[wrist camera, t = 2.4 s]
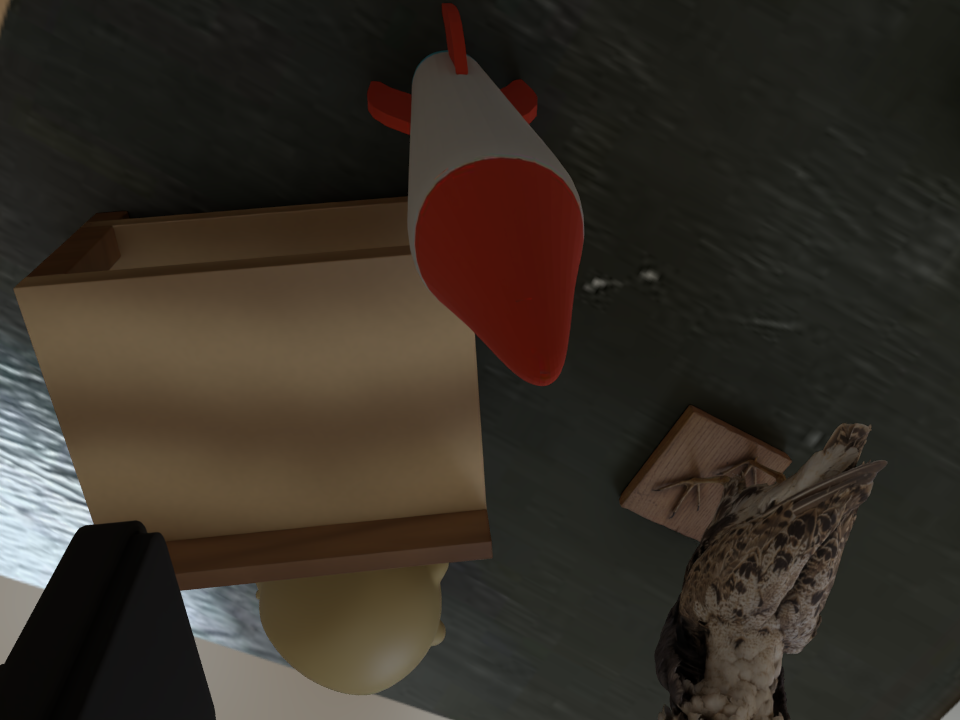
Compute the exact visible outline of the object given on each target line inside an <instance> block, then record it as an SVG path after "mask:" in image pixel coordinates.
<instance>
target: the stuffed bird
mask: <svg viewBox="0 0 960 720" xmlns="http://www.w3.org/2000/svg"><path fill="white" fill-rule="evenodd" d="M869 431H871V425H869V427H868V426H866V425H863V424H858V423H855V424H846V423H842V424H841V425H840V426H839V427H838V428H837V429H836V430H835V431H834V433H833V434H832V436H831V438H830V439H829V440H828V442H827V444H826V445H825V448H824V449H823V450H822V451H819V452H815V453H814V454H813V455H812V456H811V458H810V459H809V460H808V461H807V462H806V463H805V464H804V465H803V466H802V467H801V468H800V469H799V471H798V472H797V473H795V474H794V475H793V476H791V477H789V478H788V479H786V477H785V475H784V474H782V473H783V472H784V471H785V469H786V468H787V467H788V466H789V465H790V463H791V462H792V460H791V459H790V458H789V456H788V455H787V454H786V453H785V452H782V451H780V450H779V449H777V448H775V447H772V446H770V445H769V444H767V443H765V442H763V441H761V440H759V439H757V438H755V437H753V436H751V435H749V434H747V433H745V432H743V431H741V430H739V429H738V428H736V427H733V426H731V425H729V424H727V423H726V422H724V421H722V420H720V419H718V418H716V417H713V416H712V415H710V414H708V413H706V412H704V411H702V410H700V409H698V408H696V407H694V406H692V405H689V406H688V408H687V409H686V410H685V412H684V413H683V414H682V416H681V417H680V418H679V420H678V421H677V422H676V423H675V425H674V426H673V427H672V429H671V430H670V431H669V433H668V434H667V435H666V436H665V438H664V439H663V440H662V442H661V443H660V444H659V446H658V447H657V448H656V450H655V451H654V452H653V453H652V455H651V456H650V458H649V459H648V460H647V462H646V463H645V464H644V465H643V466H642V468H641V469H640V471H639V472H638V473H637V474H636V476H635V477H634V478H633V480H632V481H631V482H630V484H629V485H628V486H627V488H626V489H625V490H624V492H623V493H622V494H621V497H620V499H619V501H620V505H621V507H623V508H627V509H629V510H631V511H633V512H635V513H637V514H639V515H641V516H642V517H645V518H647V519H649V520H651V521H653V522H656V523H658V524H660V525H665V526H666V527H667V528H670V529H672V530H674V531H676V532H680V533H681V534H683V535H685V536H688V537H691V538H693V539H696V540H698V541H700V545H699V546H698V547H697V549H696V551H695V552H694V554H693V556H692V558H691V560H690V561H689V563H688V565H687V567H686V572H685V576H684V582H683V588H682V592H681V594H680V595H679V597H678V600H677V602H676V604H675V605H674V606H673V608H672V609H671V610H670V612H669V614H668V617H667V619H666V623H665V625H664V627H663V629H662V632H661V637H660V640H659V643H658V645H657V647H656V650H655V663H656V674H657V677H658V680H659V682H660V683H661V684H662V686H663V687H664V688H665V689H666V690H668V691H669V693H670V707H671V710H672V711H671V710H670V708H669V707H668V706H666V705H665V704H664V706H663V713H662V712H660V713H659V716H658V720H791V719H790V716H789V714H788V713H787V707H786V701H787V698H786V693H785V691H784V684H783V683H784V680H785V679H784V678H783V677H784V669H783V667H782V666H781V665H782V655H783V653H784V652H785V653H787V654H797V653H799V652H800V651H802V650H803V648H804V646H805V645H806V644H807V643H808V642H810V641H811V640H812V639H813V638H814V637H815V635H816V634H817V633H816V632H817V628H818V627H819V625H820V623H821V621H822V620H821V616H820V617H819V613H820V612H821V611H822V609H823V608H824V606H825V602H826V599H827V597H828V595H829V592H830V590H831V588H832V586H833V584H834V580H835V576H836V573H837V570H838V566H839V563H840V559H841V555H842V552H843V549H844V547H845V544H846V542H847V540H848V537H849V534H850V531H851V529H852V526H853V524H854V522H855V519H856V517H855V516H857V515H856V513H857V510H858V507H859V506H860V505H861V504H862V503H863V502H864V501H866V500H867V498H868V497H869V495H870V493H871V489H872V486H873V481H872V480H873V479H874V478H875V476H876V474H877V473H878V472H879V471H880V470H881V469H883V468H884V467H885V466H886V465H887V463H888V462H887V461H885V460H879V461H874V462H872V463H870V461H871V460H870V461H869V462H868V463H866V464H864V461H863V463H862V465H860V466H858V467H856V464H857V462H858V459H859V457H860V454H861V451H862V449H863V446H864V444H865V443H866V441H867V440H866V438H867V435H868V433H869ZM855 467H856V468H855ZM775 481H776V482H777V483H776V484H773V483H774V482H775Z"/></svg>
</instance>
